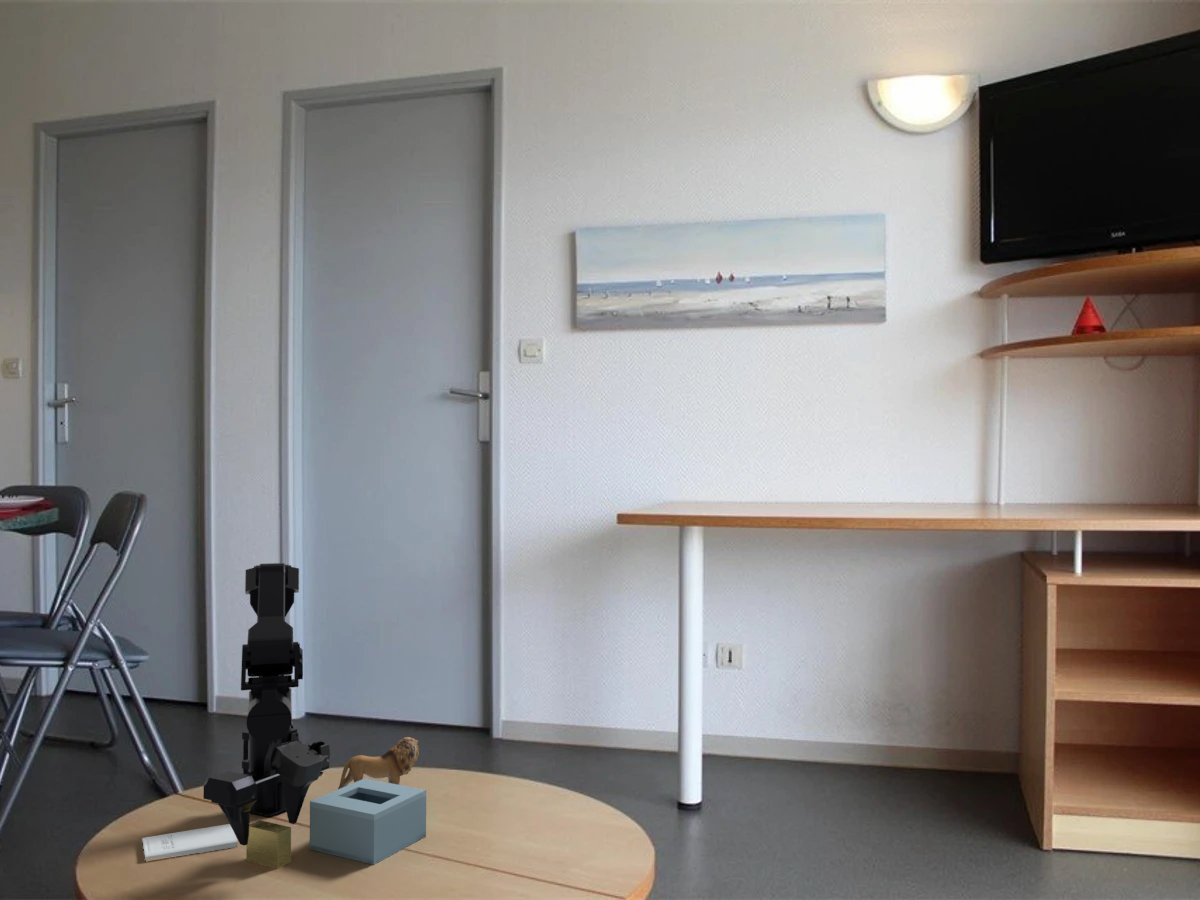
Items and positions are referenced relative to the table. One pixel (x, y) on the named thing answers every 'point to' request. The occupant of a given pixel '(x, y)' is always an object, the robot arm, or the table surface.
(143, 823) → the table surface
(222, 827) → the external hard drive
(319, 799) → the tissue box
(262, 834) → the yellow rectangular block
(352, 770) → the lion figurine
